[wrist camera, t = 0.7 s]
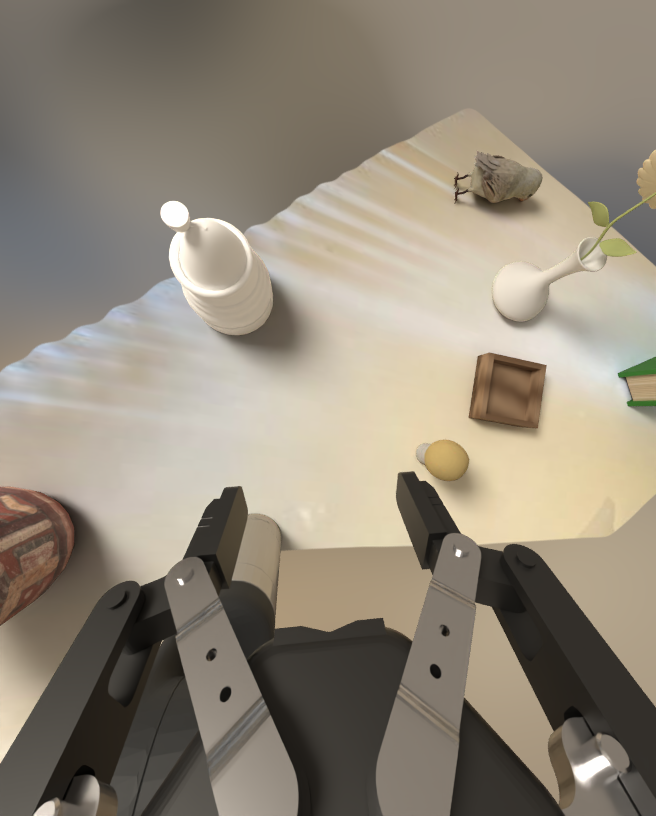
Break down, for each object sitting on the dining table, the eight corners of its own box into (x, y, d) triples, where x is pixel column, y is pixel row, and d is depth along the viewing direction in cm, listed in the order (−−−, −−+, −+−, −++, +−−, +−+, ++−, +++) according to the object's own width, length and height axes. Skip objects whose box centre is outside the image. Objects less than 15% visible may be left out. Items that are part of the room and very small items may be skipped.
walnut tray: (523, 427, 51) (537, 428, 48) (468, 417, 49) (480, 417, 46) (531, 367, 51) (546, 365, 48) (477, 356, 50) (489, 352, 47)
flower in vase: (543, 315, 52) (773, 230, 27) (495, 331, 50) (693, 255, 26) (525, 252, 51) (742, 107, 27) (476, 266, 50) (658, 125, 25)
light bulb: (419, 429, 48) (452, 434, 38) (445, 447, 49) (485, 457, 39) (401, 458, 47) (430, 470, 38) (428, 476, 48) (463, 493, 38)
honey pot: (186, 325, 42) (111, 264, 25) (202, 250, 43) (139, 137, 25) (265, 343, 44) (247, 298, 26) (279, 270, 45) (272, 178, 27)
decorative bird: (522, 214, 52) (561, 181, 44) (448, 206, 49) (476, 171, 42) (521, 187, 52) (560, 150, 44) (447, 178, 49) (475, 138, 42)
